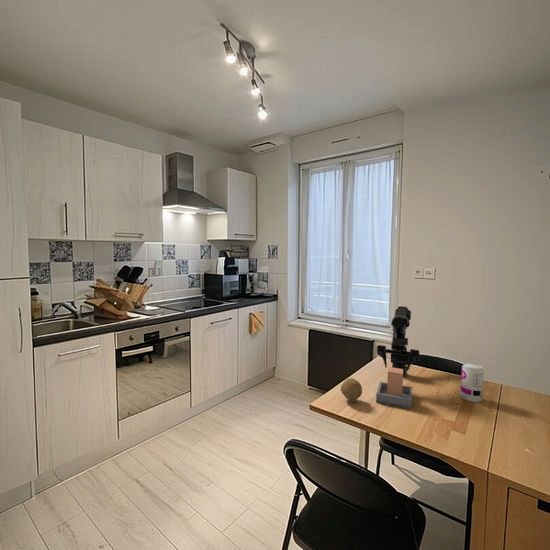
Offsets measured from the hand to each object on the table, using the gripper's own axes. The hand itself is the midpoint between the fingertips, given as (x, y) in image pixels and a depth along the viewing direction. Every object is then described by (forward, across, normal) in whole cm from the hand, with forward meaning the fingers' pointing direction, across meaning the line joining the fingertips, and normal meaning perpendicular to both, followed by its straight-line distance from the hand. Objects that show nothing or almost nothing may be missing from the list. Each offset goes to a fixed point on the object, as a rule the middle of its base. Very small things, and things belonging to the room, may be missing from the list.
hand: (396, 369), depth 147 cm
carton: (+12, 0, +2) cm, 12 cm away
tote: (+13, 0, +3) cm, 13 cm away
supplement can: (+2, +31, +14) cm, 34 cm away
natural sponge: (+20, -17, -4) cm, 27 cm away
